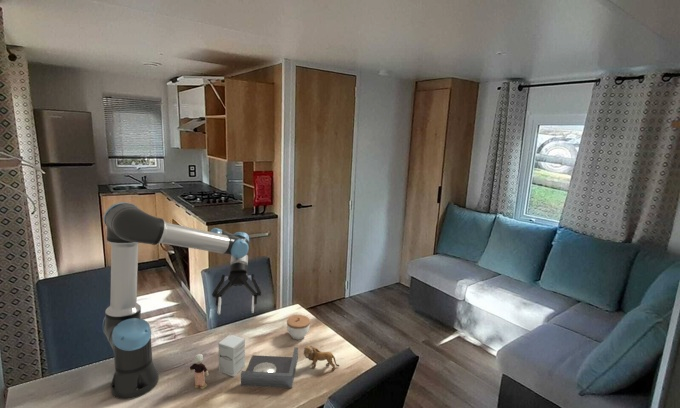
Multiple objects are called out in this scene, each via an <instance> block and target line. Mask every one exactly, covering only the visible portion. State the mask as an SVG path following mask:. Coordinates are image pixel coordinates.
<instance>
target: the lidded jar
mask: <svg viewBox="0 0 680 408" xmlns="http://www.w3.org/2000/svg"><path fill="white" fill-rule="evenodd" d="M310 325H311V319H310V318H309V317H308V316H306V315H302V314H296V315H291V316H289V317H288V318H287V319H286V328H287V329H286V330H287V332H288V335H289V336H291V338H292V339H294V340H302V339H304V338H305V337H306V336H308V333H309V331H310Z"/></svg>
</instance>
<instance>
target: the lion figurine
mask: <svg viewBox="0 0 680 408" xmlns="http://www.w3.org/2000/svg"><path fill="white" fill-rule="evenodd" d="M303 355H304V357H305V358H306V359H308V360H309V361H312V362H311V364H312V367H311V368H312V369H315V368H316V366H317V362H318V361H320V362H323V361H327V363H326V366H329V365H330V366H331V367H332V368H331V371H335V370H336V367H340V365H339V364H337V360H336V357H335V355H334V354H333V353H332V352H330V351H322V350H321V351H320V350H319V349H318V348H316V347H314V346H312V345H307V346H305V347H304V349H303Z"/></svg>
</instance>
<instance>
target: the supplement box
mask: <svg viewBox="0 0 680 408" xmlns="http://www.w3.org/2000/svg"><path fill="white" fill-rule="evenodd" d="M245 357H246V338H243V337H240V336H237V335H234V334H228V335H227V336H225V338H223V339H222V340H220V341H219V342H218V372H219V373H222V374H225V375H228V376H231V377H233V378H234V377H235V376H237V374H238V373H240V371H241V372H242V371H243V369H244V368H245V366H246V365H245V363H246V360H245V359H246V358H245Z"/></svg>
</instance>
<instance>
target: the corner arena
mask: <svg viewBox="0 0 680 408" xmlns="http://www.w3.org/2000/svg"><path fill="white" fill-rule="evenodd" d="M298 360H299V347H294V349H293V354H292V357H291V356H276V355H275V356H274V355H256V354H253V355H252V357H251V359H250V361H249V364H248V366H247V368H246V370H241V372H240V386H241V387H259V388H260V387H262V388H280V389H281V388H282V389H283V388H284V389H285V388H286V389H292V388H293V384H294V380H295V374H296V369H297V365H298Z"/></svg>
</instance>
